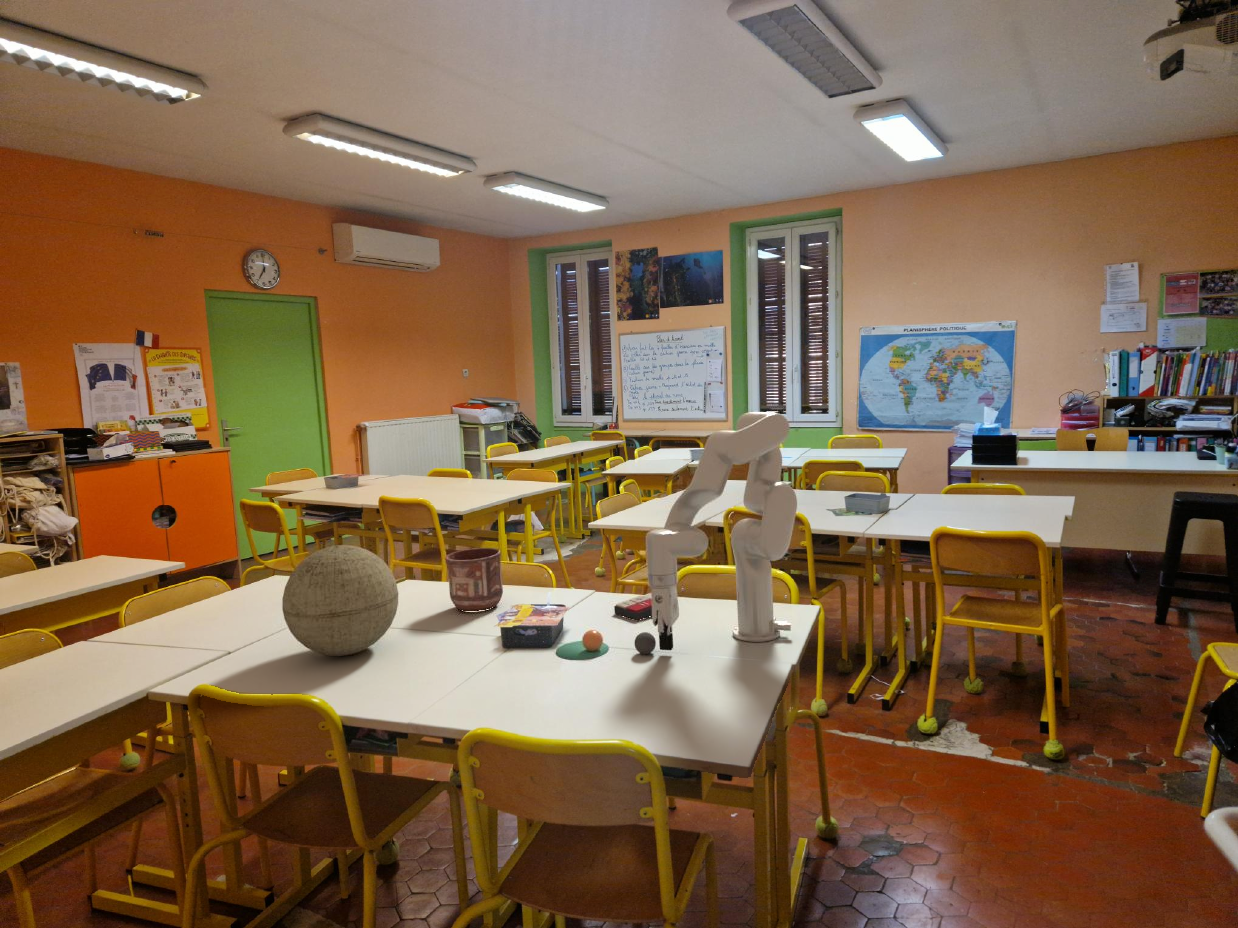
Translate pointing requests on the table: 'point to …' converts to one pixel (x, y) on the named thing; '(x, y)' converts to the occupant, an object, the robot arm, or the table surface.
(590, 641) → the ball
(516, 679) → the table surface
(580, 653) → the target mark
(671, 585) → the robot arm
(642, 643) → the ball
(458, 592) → the pottery
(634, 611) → the calculator
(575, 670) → the table surface
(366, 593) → the celestial globe
